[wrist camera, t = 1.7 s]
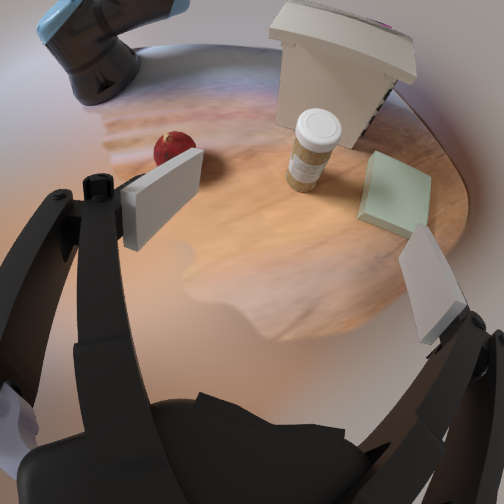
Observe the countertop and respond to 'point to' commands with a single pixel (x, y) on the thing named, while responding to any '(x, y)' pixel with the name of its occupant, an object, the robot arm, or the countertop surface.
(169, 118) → the countertop surface
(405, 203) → the pedestal
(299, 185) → the sprinkles bottle
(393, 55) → the white t-shaped stand
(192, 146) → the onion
